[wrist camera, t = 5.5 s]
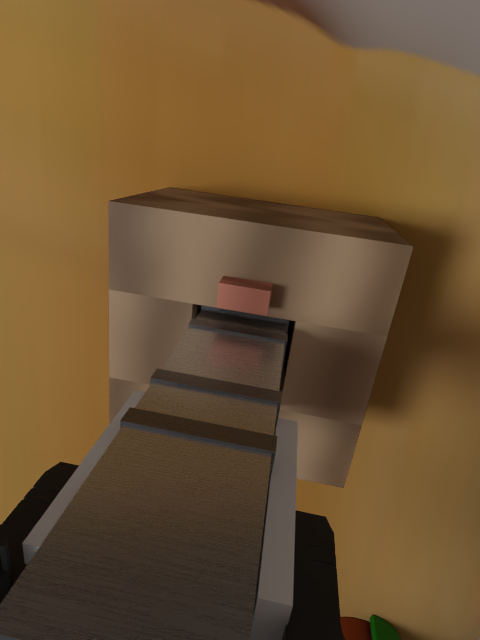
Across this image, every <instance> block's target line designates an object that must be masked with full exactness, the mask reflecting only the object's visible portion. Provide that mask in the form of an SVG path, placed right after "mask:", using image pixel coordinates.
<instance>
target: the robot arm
mask: <svg viewBox="0 0 480 640" xmlns="http://www.w3.org/2000/svg"><path fill="white" fill-rule="evenodd" d="M144 393H145V392H141V391H136V390H134V391H133V393H132V394H131V396H130V397H129V398H128V400H127V401H126V402H125V404H124V405H123V406H122V408H121V409H120V411H119V412H118V413H117V415H116V416H115V417H114V419H113V420H112V421H111V423H110V424H109V426H108V427H107V428H106V430H105V431H104V432H103V434H102V435H101V436H100V438H99V439H98V441H97V442H96V443H95V445H94V446H93V447H92V449H91V450H90V452H89V453H88V454H87V456H86V457H85V458H84V460H83V461H82V462H81V464H80V465H79V466H78V465H73V464H68V463H63V462H60V463H58V464H57V465H55V466H54V467H52V468H51V469H49V470H47V471H46V472H45V473H44V474H43V475H42V476H41V477H40V479H39V480H38V481H37V482H36V483H35V485H34V486H33V489H31V490H30V491H29V492H28V493H27V494H26V496H25V497H24V499H23V500H21V502H20V503H19V504H18V505H17V506H16V508H15V509H14V510H13V511H12V513H11V514H10V515H9V516H8V517H7V519H6V520H5V521H4V522H3V523H2V525H0V604H1V603H2V601H3V600H4V598H5V597H6V595H7V594H8V592H9V591H10V589H11V588H12V587H13V585H14V584H15V582H16V581H17V579H18V578H19V576H20V575H21V573H22V572H23V570H24V569H25V567H26V566H27V565H28V563H29V562H30V560H31V559H32V557H33V556H34V554H35V553H36V551H37V550H38V548H39V547H40V546H41V544H42V543H43V541H44V540H45V538H46V537H47V535H48V534H49V532H50V531H51V529H52V528H53V527H54V525H55V524H56V522H57V521H58V519H59V518H60V516H61V515H62V513H63V512H64V510H65V509H66V508H67V506H68V505H69V503H70V502H71V500H72V499H73V497H74V496H75V494H76V493H77V491H78V490H79V488H80V487H81V486H82V484H83V483H84V481H85V480H86V478H87V477H88V475H89V474H90V472H91V471H92V469H93V468H94V467H95V465H96V464H97V462H98V461H99V459H100V458H101V456H102V455H103V453H104V452H105V450H106V449H107V448H108V446H109V445H110V443H111V442H112V440H113V439H114V437H115V436H116V434H117V433H118V431H119V430H120V420H121V419H122V417H123V416H124V415H125V413H126V412H127V410H128V409H129V408H130V407H132V408H135V407H136V405H137V404H138V402H139V401H140V399H141V398H142V396H143V395H144ZM274 436H277V446H276V454H275V459H274V464H273V469H272V474H271V479H270V484H269V489H268V494H267V500H266V509H265V517H264V526H263V535H262V543H261V552H260V560H259V569H258V578H257V586H256V595H255V604H254V612H253V621H252V629H251V638H250V640H345V638H344V635H343V633H342V628H341V623H340V609H339V596H338V583H337V569H336V556H335V543H334V533H333V531H332V529H331V527H330V525H329V523H328V521H327V519H326V517H324V516H319V515H315V514H310V513H305V512H301V511H296V477H297V441H298V421H293V420H288V419H283V418H278V421H277V426H276V430H275V435H274Z"/></svg>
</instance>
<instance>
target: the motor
mask: <svg viewBox="0 0 480 640" xmlns="http://www.w3.org/2000/svg"><path fill="white" fill-rule="evenodd" d="M340 623H341V628H342V633H343V635H344V638H345V640H401V639H400V636H399V635H398V633H397V632H396V630H395V629H394V628H393V627H392V626H391V625H390V624H388V623H387V622H386V621H384V620H383V619H381V618H379V617H377V616H375V615H372V616H371V617H370V623H369V622H366V621H364V620H361V619H357V618H351V617H340Z"/></svg>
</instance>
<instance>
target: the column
mask: <svg viewBox="0 0 480 640" xmlns="http://www.w3.org/2000/svg"><path fill="white" fill-rule="evenodd" d="M288 326H289V320H286V319H280V318H274V317H268V316H262V315H256V314H250V313H244V312H238V311H233V310H227V309H221V308H215V307H209V306H203V305H201V311H200V313H199V314H198V316H197V317H196V319H193V318H192V320H191V321H190V322H189V324H188V330H187V332H186V333H185V335H184V336H183V338H182V339H181V341H180V342H179V344H178V345H177V347H176V348H175V349H174V351H173V352H172V354H171V355H170V357H169V358H168V360H167V361H166V363H165V364H164V366H163V367H162V368H161V369H158V368H157V369H156V371H155V372H154V373H153V375H152V376H151V378H150V386H149V388H148V389H147V390H146V392H145V393H144V395H143V396H142V398H141V399H140V401H139V402H138V404H137V405H136V407H135V408H132V407H130V408H129V409H128V410H127V412H126V413H125V415H124V416H123V417H122V419H121V420H120V430H119V431H118V433H117V434H116V436H115V437H114V439H113V440H112V442H111V443H110V445H109V446H108V448H107V449H106V450H105V452H104V453H103V455H102V456H101V458H100V459H99V461H98V462H97V464H96V465H95V467H94V468H93V469H92V471H91V472H90V474H89V475H88V477H87V478H86V480H85V481H84V483H83V484H82V486H81V487H80V488H79V490H78V491H77V493H76V494H75V496H74V497H73V499H72V500H71V502H70V503H69V505H68V506H67V508H66V509H65V510H64V512H63V513H62V515H61V516H60V518H59V519H58V521H57V522H56V524H55V525H54V527H53V528H52V529H51V531H50V532H49V534H48V535H47V537H46V538H45V540H44V541H43V543H42V544H41V546H40V547H39V548H38V550H37V551H36V553H35V554H34V556H33V557H32V559H31V560H30V562H29V563H28V565H27V566H26V567H25V569H24V570H23V572H22V573H21V575H20V576H19V578H18V579H17V581H16V582H15V584H14V585H13V587H12V588H11V589H10V591H9V592H8V594H7V595H6V597H5V598H4V600H3V601H2V603H1V604H0V640H250V638H251V629H252V621H253V612H254V604H255V595H256V586H257V578H258V569H259V560H260V552H261V543H262V535H263V526H264V517H265V509H266V500H267V494H268V489H269V484H270V479H271V474H272V469H273V464H274V459H275V454H276V446H277V436H274V435H275V430H276V426H277V421H278V416H279V410H280V405H281V397H282V392H281V391H279V388H280V379H281V372H282V367H283V362H284V356H285V351H286V345H287V339H288V335H287V331H288Z"/></svg>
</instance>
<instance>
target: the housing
mask: <svg viewBox="0 0 480 640" xmlns="http://www.w3.org/2000/svg"><path fill="white" fill-rule="evenodd" d="M413 247H414V246H413V245H412V244H410V243H409V242H408V241H407V240H406V239H404V238H403V237H402V236H401V235H400V234H398V233H397V232H396V231H395V230H394V229H392V228H391V227H390V226H389V225H388V224H386V223H385V222H384V221H383V220H382V219H380V218H378V217H371V216H364V215H357V214H350V213H343V212H336V211H329V210H322V209H315V208H308V207H301V206H294V205H287V204H280V203H273V202H266V201H259V200H252V199H245V198H238V197H231V196H224V195H217V194H210V193H203V192H196V191H189V190H182V189H175V188H164V189H160V190H155V191H151V192H146V193H142V194H137V195H133V196H128V197H124V198H120V199H115V200H111V201H109V398H110V423H111V421H112V420H113V419H114V417H115V416H116V415H117V413H118V412H119V411H120V409H121V408H122V406H123V405H124V404H125V402H126V401H127V400H128V398H129V397H130V396H131V394H132V393H133V391H134V390H136V391H141V392H146V390H147V389H148V388H149V386H150V378H151V376H152V375H153V373H154V372H155V371H156V369H157V368H158V369H161V368H162V367H163V366H164V364H165V363H166V361H167V360H168V358H169V357H170V355H171V354H172V352H173V351H174V349H175V348H176V347H177V345H178V344H179V342H180V341H181V339H182V338H183V336H184V335H185V333H186V332H187V330H188V324H189V322H190V321H191V320H192V318H193V319H196V317H197V316H198V314H199V313H200V311H201V305H203V306H209V307H215V308H221V309H227V310H233V311H238V312H244V313H250V314H256V315H262V316H268V317H274V318H280V319H286V320H290V325H289V330H288V339H287V345H286V351H285V356H284V362H283V367H282V372H281V379H280V388H279V391H281V392H282V397H281V405H280V410H279V416H278V418H283V419H288V420H293V421H298V441H297V477H296V478H297V479H302V480H307V481H312V482H316V483H321V484H326V485H331V486H336V487H341V488H344V485H345V481H346V478H347V474H348V471H349V467H350V464H351V461H352V457H353V454H354V450H355V447H356V443H357V440H358V436H359V433H360V429H361V426H362V423H363V419H364V416H365V412H366V409H367V405H368V402H369V398H370V395H371V392H372V388H373V385H374V381H375V378H376V374H377V371H378V367H379V364H380V361H381V357H382V354H383V350H384V347H385V343H386V340H387V336H388V333H389V330H390V326H391V323H392V319H393V316H394V312H395V309H396V305H397V302H398V299H399V295H400V292H401V288H402V285H403V281H404V278H405V274H406V271H407V268H408V264H409V261H410V257H411V254H412V250H413Z"/></svg>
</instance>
